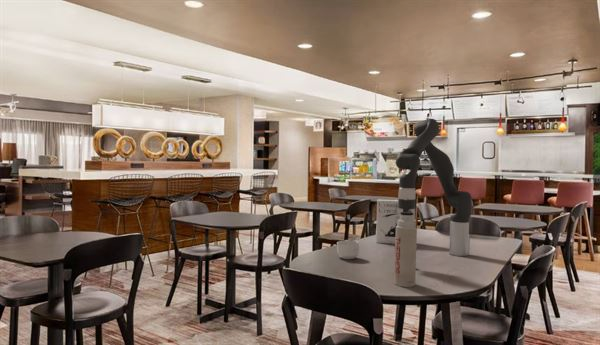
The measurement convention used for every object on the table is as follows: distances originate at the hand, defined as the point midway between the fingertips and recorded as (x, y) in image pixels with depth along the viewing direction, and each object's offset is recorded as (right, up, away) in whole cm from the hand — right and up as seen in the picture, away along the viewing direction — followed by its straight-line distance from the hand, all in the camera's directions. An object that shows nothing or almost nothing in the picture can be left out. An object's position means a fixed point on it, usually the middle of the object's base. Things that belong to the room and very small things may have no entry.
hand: (405, 234), depth 205 cm
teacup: (-24, -14, +18) cm, 33 cm away
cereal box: (+8, -14, +63) cm, 65 cm away
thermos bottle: (-7, -15, -29) cm, 34 cm away
